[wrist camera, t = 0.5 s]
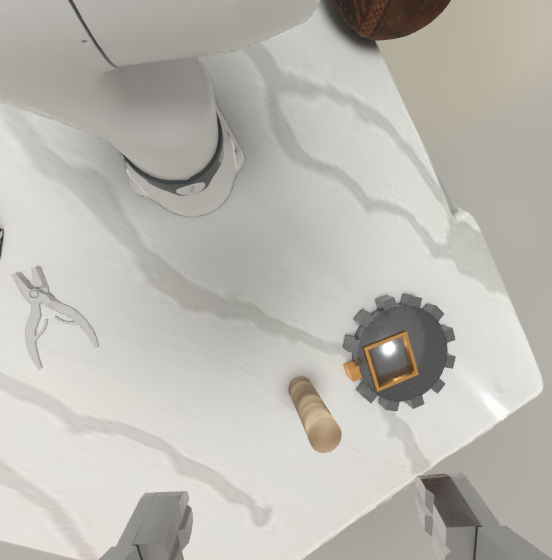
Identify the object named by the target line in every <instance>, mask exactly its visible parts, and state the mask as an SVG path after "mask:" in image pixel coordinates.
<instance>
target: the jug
mask: <svg viewBox="0 0 552 560" xmlns="http://www.w3.org/2000/svg"><path fill="white" fill-rule="evenodd" d="M450 1H451V0H332V2H333V5H334V7H335V9H336V11H337V12H338V14H339V15H340V17H341V18H342V19H343V21H344V22H345V23H346V24H347V25H348V26H349V27H350V28H351V29H352V30H353V31H354V32H355V33H357V34H358V35H359V36H361V37H364V38H366V39H370V40H377V41H378V40H387V39H395V38H400V37H404V36H407V35H410V34H412V33H414V32H416V31H418V30H419V29H421V28H423V27H425V26H426V25H428V24H429V23H431V22H432V21H433V20H434V19H435V18H436V17H437V16H438V15H440V13H442V12H443V10H444V9H445V8H446V7H447V5H448V4H449V2H450Z"/></svg>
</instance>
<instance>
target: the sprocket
mask: <svg viewBox="0 0 552 560" xmlns="http://www.w3.org/2000/svg"><path fill="white" fill-rule="evenodd" d="M375 301H376V304H377V308H378V309H377V310H375V311H374V312H372V313H371V314H370V313H369V312H367V311H364V310H361V311H360V312H359V313H358V314H357V315H356V317H355V318H354V319H353V320H355V321H356V322H357V323H358V324H359V325H360V327H359V328H358V330H357V332H356V335H355V336H349V335H345V340H344V345H343V348H344V349H346V350H347V351H348V352H352V359H353V361H351V362H348V363H346V364H344V367H345V370H346V374H347V376H348V377H349V378H350V379H351V380H352V381H356V380H358V379H361V381H362V383H361V384H360V385H359V386H358V387H357V389H356V390H357V391H358V392H359V393H360V394H361V395H362V396H363V397H364V398H365V399H367V400H368V401H369V402H370V403H372V402H373V400H374V399H375V398H376V397H377V396H380V399H379V404H380V405H381V406H382V407H383V408H384V409H385V410H391V411H398V406H399V402H400V401H405V402H406V403H407V404H408V405H409V406H410V407H412V408H413V409H414V408H416V407H419V406H421V405H423V404H424V401H423V397H422V395H423V394H424V393H426V392H427V391H428V390H429V389H431V390H433V391H434V392H436V393H437V394H438V393H439V391H440V390H441V389H442V388H443V386H444V385H445V383H444V382H443V381H442V380H441V379H440V378H439V377H440V376H441V374H442V372H443V369H444V367H446V368H453V366H454V361H455V357H456V356H454V355H451V354H449V353H447V343H448V342H451V341H453V340H455V336H454V332H453V328H451V327H448V326H444V325H440V323H439V322H438V321H439V320H440V319H441V317H442V316H443V315H444V313H443V312H442V311H441V310H440V309H439V308H438V307H437V306H435V305H431V304H426V305H425V306H424V307H423V309H421V308H420V306H421V301H422V298H419V297H414V296H409V295H404V294H402V297H401V302H400V304H396V302H395V299H394V297H391V296H384V297H381V298H378V299H376V300H375Z"/></svg>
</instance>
